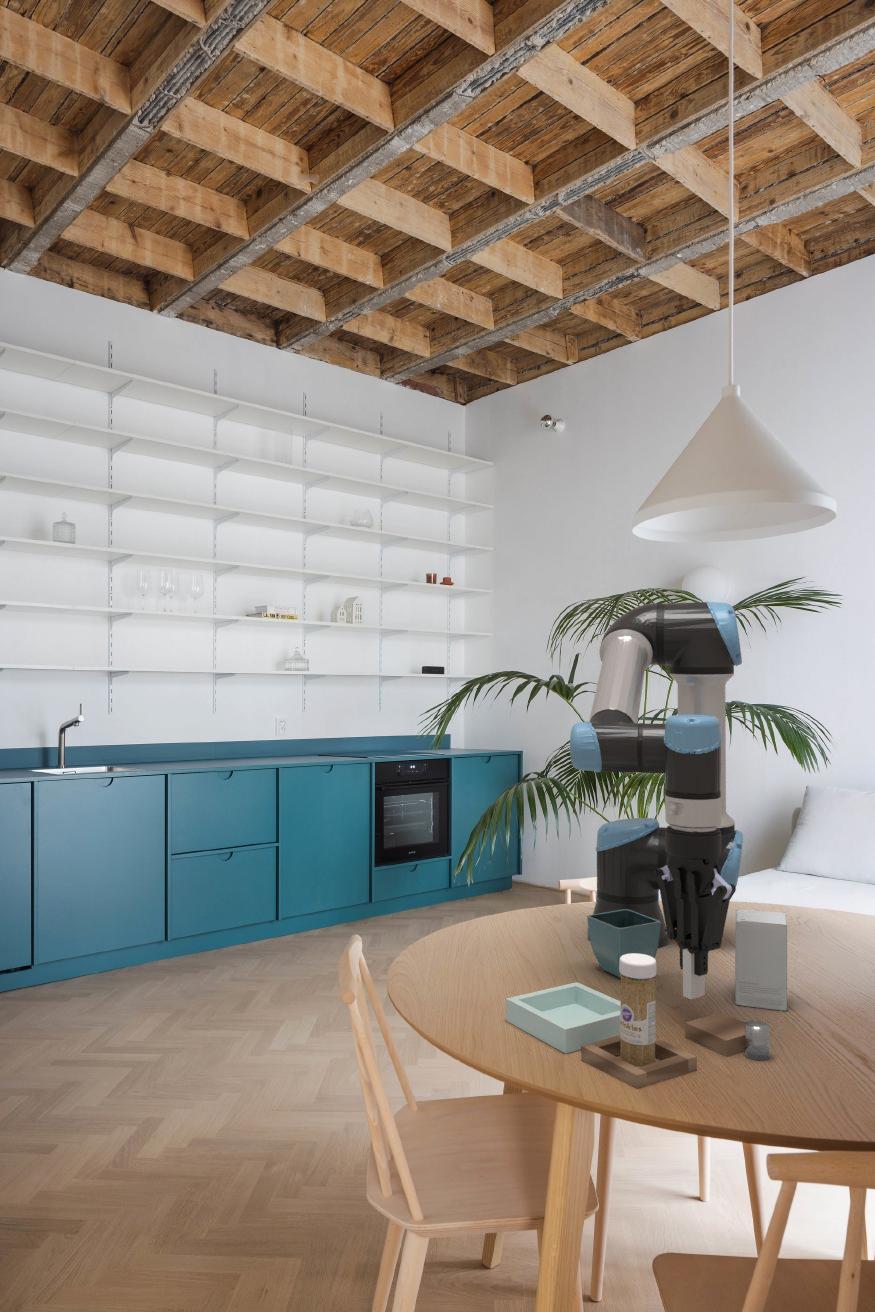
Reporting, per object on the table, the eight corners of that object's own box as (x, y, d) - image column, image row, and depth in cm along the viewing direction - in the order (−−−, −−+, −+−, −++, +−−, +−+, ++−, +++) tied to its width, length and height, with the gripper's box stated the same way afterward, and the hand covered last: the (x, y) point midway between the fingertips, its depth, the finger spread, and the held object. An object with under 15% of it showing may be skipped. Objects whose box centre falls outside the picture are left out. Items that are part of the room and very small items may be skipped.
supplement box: (788, 1012, 131) (787, 924, 131) (734, 1005, 134) (733, 920, 134) (787, 995, 138) (786, 912, 138) (736, 989, 141) (735, 907, 141)
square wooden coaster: (685, 1041, 122) (685, 1022, 122) (720, 1030, 125) (720, 1012, 126) (726, 1060, 116) (726, 1040, 116) (762, 1048, 120) (762, 1029, 120)
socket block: (581, 1060, 115) (581, 1045, 115) (639, 1043, 120) (638, 1029, 120) (637, 1091, 106) (637, 1075, 106) (696, 1071, 112) (696, 1056, 112)
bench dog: (740, 1054, 116) (739, 1023, 117) (755, 1049, 118) (755, 1018, 118) (759, 1063, 114) (759, 1031, 114) (774, 1058, 115) (774, 1026, 116)
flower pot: (619, 985, 142) (619, 928, 142) (585, 969, 150) (585, 915, 150) (662, 977, 146) (662, 921, 147) (627, 961, 154) (627, 908, 154)
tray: (506, 1020, 128) (506, 998, 128) (576, 1003, 135) (576, 982, 135) (565, 1053, 117) (565, 1029, 117) (639, 1032, 124) (639, 1010, 124)
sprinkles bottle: (612, 1066, 113) (612, 958, 113) (630, 1055, 116) (630, 949, 117) (646, 1077, 110) (645, 966, 110) (663, 1064, 113) (662, 957, 114)
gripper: (639, 822, 129) (640, 986, 129) (711, 837, 118) (712, 1017, 118) (676, 816, 133) (677, 976, 133) (749, 831, 122) (750, 1005, 122)
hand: (693, 995), depth 126 cm, fingers closed
